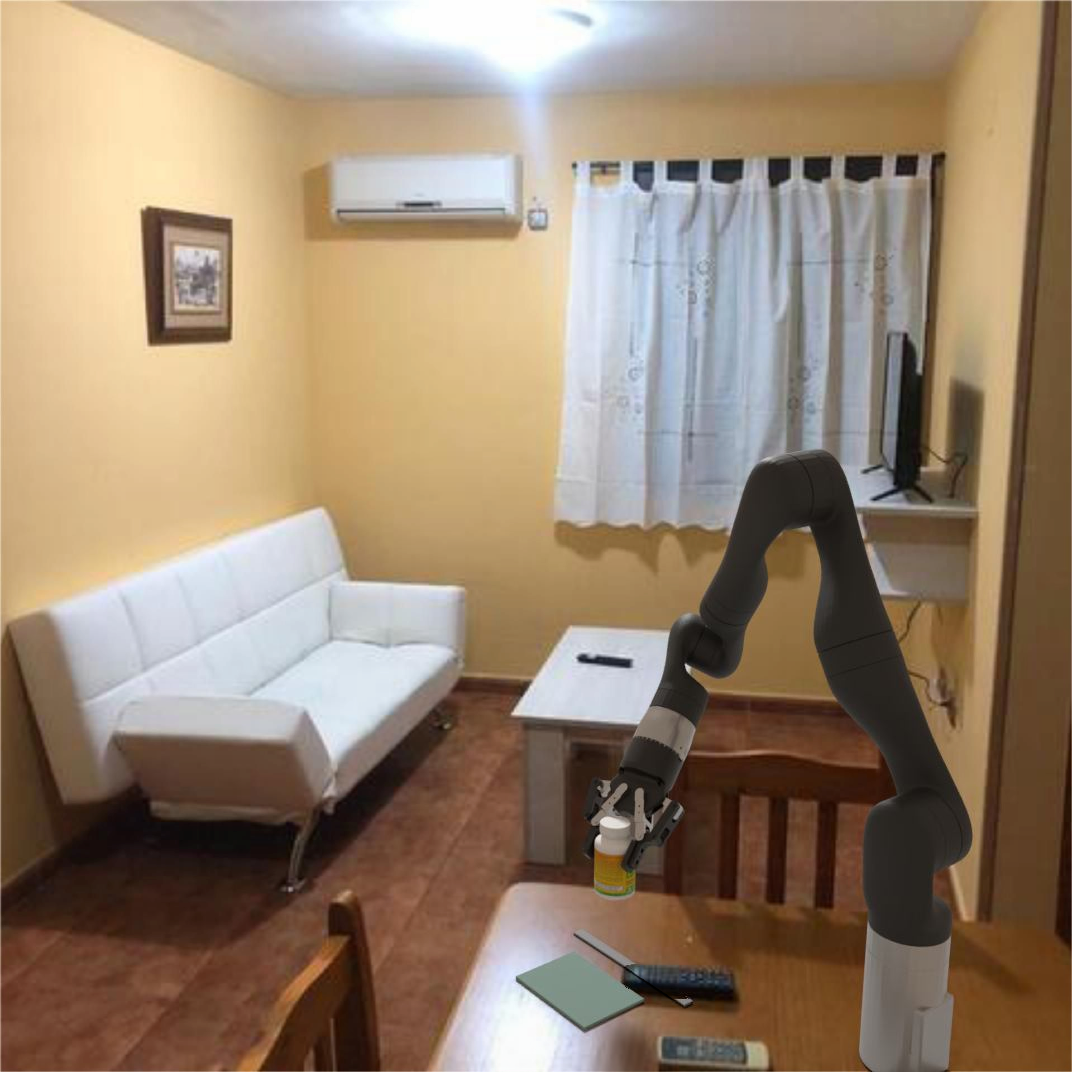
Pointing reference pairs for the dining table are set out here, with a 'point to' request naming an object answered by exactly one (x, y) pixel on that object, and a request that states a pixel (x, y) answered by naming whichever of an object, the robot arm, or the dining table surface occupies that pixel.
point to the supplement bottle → (613, 859)
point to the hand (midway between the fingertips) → (606, 862)
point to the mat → (579, 990)
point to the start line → (613, 955)
